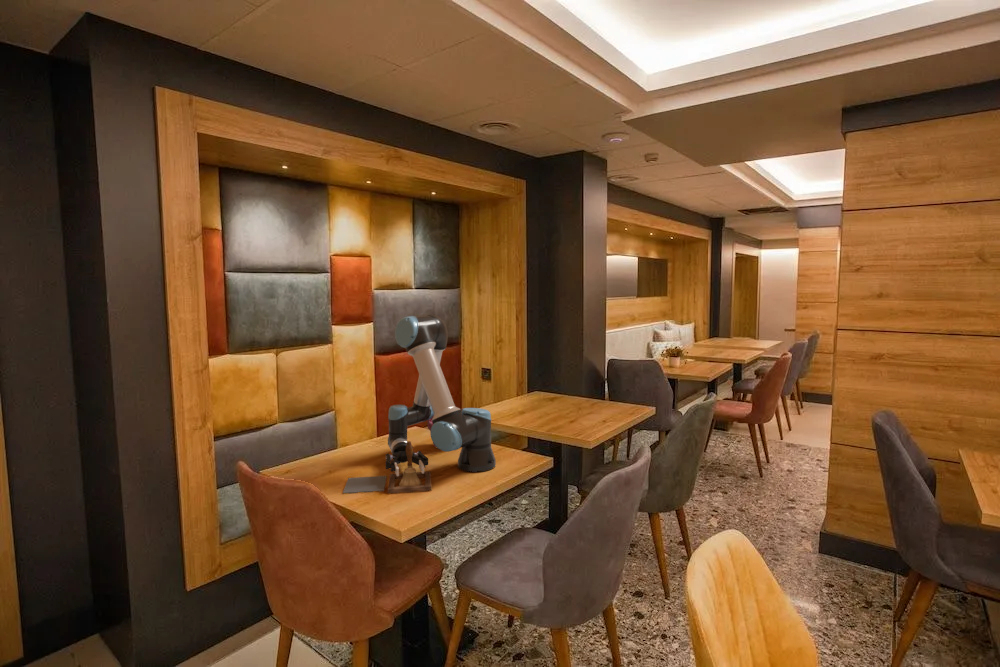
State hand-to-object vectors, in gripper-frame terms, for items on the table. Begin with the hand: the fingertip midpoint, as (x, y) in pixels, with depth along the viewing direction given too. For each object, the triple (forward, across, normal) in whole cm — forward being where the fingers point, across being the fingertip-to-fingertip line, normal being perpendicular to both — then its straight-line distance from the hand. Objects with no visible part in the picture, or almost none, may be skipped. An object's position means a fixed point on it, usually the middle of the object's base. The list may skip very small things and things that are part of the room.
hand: (410, 471), depth 181 cm
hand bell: (-4, 0, -7) cm, 8 cm away
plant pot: (-44, -22, -6) cm, 49 cm away
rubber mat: (-9, +15, -7) cm, 19 cm away
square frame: (-4, 0, -6) cm, 8 cm away
